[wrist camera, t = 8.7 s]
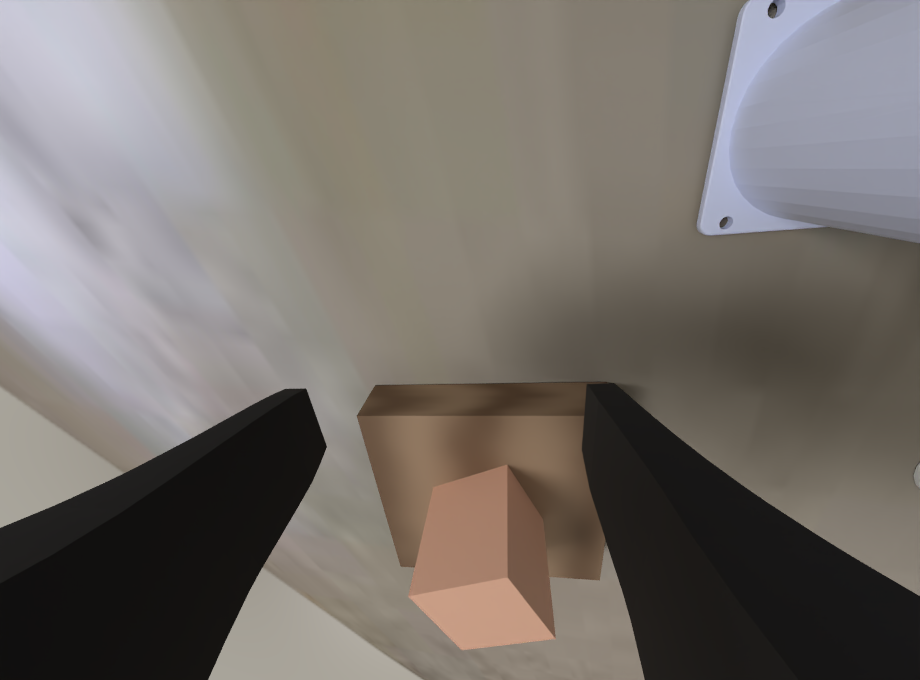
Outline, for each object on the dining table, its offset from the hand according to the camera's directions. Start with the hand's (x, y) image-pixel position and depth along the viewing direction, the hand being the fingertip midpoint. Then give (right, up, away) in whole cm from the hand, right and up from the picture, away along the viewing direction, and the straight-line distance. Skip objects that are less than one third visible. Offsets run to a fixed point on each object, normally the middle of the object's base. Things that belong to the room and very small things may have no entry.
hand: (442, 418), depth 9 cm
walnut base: (+3, -7, +15) cm, 17 cm away
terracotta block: (+2, -8, +12) cm, 15 cm away
